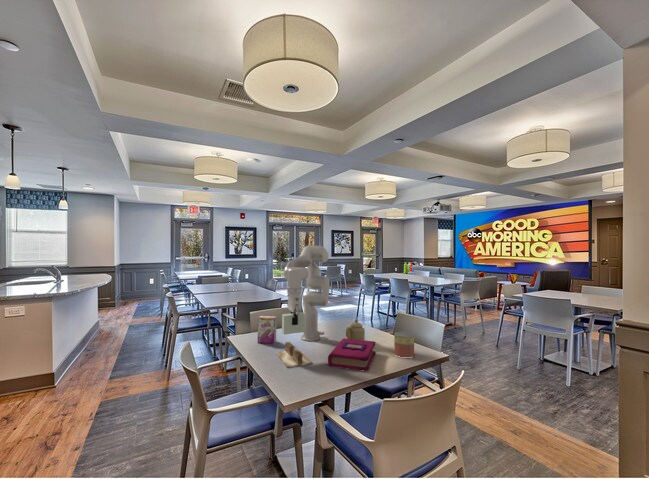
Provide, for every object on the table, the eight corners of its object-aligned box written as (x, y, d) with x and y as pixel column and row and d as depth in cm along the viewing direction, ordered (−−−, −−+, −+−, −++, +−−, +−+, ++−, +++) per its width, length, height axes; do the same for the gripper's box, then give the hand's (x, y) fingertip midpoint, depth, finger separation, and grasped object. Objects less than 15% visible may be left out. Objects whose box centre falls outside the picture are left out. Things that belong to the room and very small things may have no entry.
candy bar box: (257, 343, 192) (257, 317, 192) (259, 340, 197) (260, 315, 197) (274, 344, 191) (274, 318, 191) (276, 341, 196) (276, 316, 196)
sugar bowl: (362, 347, 187) (362, 322, 187) (345, 345, 190) (345, 321, 190) (365, 339, 201) (365, 317, 202) (349, 338, 204) (349, 316, 204)
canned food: (396, 350, 182) (396, 330, 182) (415, 353, 177) (415, 332, 177) (392, 356, 172) (392, 335, 172) (412, 359, 167) (412, 338, 167)
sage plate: (302, 330, 171) (302, 312, 171) (304, 332, 168) (304, 314, 168) (281, 332, 166) (282, 314, 167) (283, 334, 163) (284, 315, 163)
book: (327, 366, 157) (327, 352, 157) (341, 349, 183) (341, 336, 184) (367, 372, 150) (367, 357, 150) (375, 353, 177) (375, 340, 177)
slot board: (298, 350, 179) (298, 340, 180) (312, 363, 159) (312, 352, 160) (275, 353, 174) (276, 343, 174) (287, 367, 154) (287, 356, 154)
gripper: (305, 292, 161) (305, 326, 161) (295, 288, 177) (295, 319, 176) (292, 293, 158) (291, 328, 158) (283, 289, 174) (282, 320, 173)
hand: (293, 323), depth 167 cm, fingers closed on sage plate, 4 cm apart
